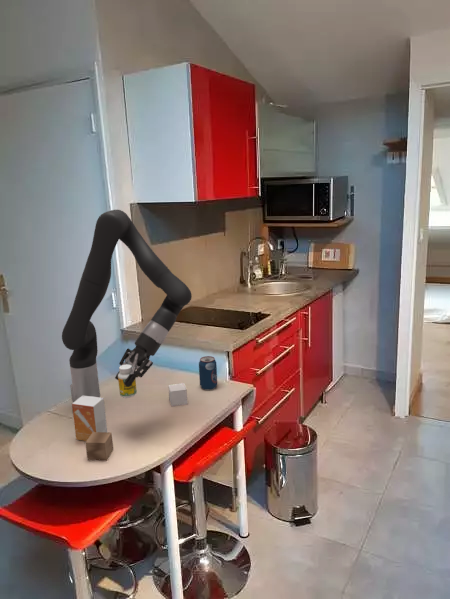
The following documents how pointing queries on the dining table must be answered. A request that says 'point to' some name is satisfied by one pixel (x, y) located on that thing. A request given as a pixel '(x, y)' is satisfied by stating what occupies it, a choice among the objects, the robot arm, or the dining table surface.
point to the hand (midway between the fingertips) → (121, 382)
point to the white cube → (177, 394)
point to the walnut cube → (99, 446)
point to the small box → (89, 416)
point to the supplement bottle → (122, 376)
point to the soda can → (208, 373)
